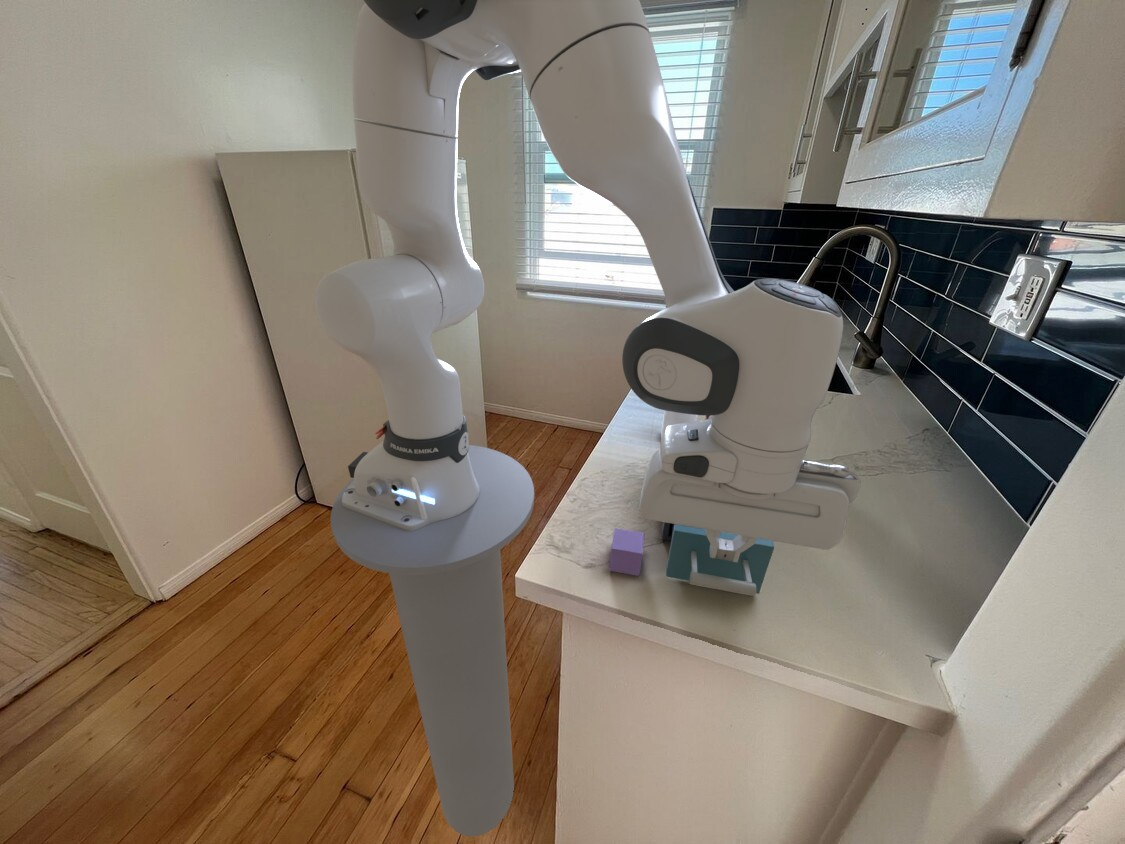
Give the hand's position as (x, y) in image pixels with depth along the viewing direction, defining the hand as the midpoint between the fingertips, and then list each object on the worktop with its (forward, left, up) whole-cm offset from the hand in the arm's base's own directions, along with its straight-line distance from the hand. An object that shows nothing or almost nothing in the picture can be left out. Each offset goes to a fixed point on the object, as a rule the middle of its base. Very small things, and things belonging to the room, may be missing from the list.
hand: (722, 556), depth 50 cm
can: (-4, +41, -9) cm, 42 cm away
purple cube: (-11, +5, -8) cm, 14 cm away
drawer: (0, +7, -7) cm, 10 cm away
